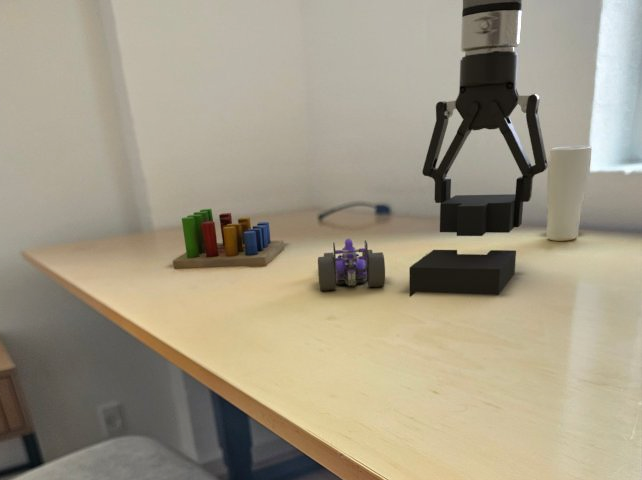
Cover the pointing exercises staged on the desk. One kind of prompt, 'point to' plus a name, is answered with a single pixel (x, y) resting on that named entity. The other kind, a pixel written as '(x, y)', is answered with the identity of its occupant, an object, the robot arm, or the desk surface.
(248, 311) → the desk surface
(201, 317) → the desk surface
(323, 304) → the desk surface
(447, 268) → the notch pad
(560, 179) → the drinking glass
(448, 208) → the tab pad
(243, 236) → the peg board
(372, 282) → the toy race car
